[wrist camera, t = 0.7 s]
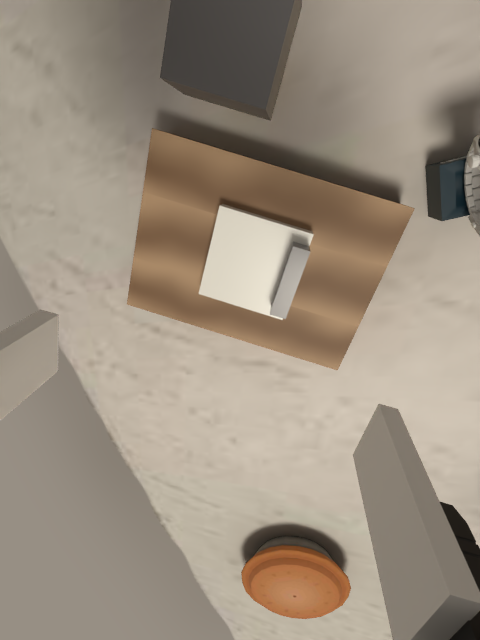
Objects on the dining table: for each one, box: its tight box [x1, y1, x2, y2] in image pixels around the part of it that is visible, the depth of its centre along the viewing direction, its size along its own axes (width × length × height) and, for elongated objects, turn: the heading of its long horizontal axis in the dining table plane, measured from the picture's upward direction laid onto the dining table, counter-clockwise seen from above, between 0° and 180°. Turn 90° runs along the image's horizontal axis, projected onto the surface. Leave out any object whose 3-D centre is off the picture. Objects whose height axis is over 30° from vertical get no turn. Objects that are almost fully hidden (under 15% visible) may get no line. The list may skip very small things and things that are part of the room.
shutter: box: [199, 204, 314, 320], centre depth 29 cm, size 8×8×3 cm
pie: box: [241, 536, 351, 619], centre depth 51 cm, size 16×16×5 cm
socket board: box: [127, 128, 415, 370], centre depth 33 cm, size 16×22×4 cm
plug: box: [160, 0, 302, 121], centre depth 24 cm, size 6×6×11 cm
